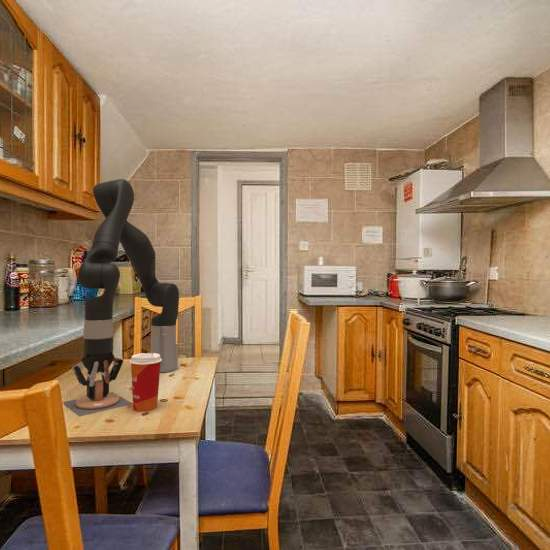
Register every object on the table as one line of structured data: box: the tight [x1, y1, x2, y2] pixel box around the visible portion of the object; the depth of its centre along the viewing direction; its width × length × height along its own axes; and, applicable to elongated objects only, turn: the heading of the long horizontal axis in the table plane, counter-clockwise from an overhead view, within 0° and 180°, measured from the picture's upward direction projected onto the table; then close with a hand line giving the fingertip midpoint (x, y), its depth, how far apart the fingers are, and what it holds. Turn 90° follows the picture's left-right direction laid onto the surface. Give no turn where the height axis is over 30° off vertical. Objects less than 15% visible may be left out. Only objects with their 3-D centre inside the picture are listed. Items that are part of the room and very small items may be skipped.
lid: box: [75, 379, 120, 409], centre depth 108 cm, size 11×11×6 cm
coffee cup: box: [129, 352, 162, 413], centre depth 105 cm, size 8×8×15 cm
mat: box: [63, 391, 133, 417], centre depth 108 cm, size 14×14×1 cm
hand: (97, 397), depth 108 cm, fingers closed on lid, 2 cm apart
